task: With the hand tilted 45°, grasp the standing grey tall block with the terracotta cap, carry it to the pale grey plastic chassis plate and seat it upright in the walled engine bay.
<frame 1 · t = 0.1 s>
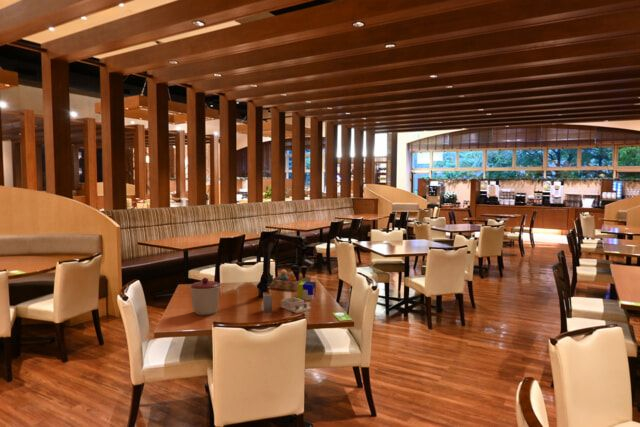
hand: (300, 279, 289), 15 cm above the table, tool pointing down, fingers open, 9 cm apart
puzzle toy: (306, 298, 299), on the table
toy bolts: (290, 286, 333), resting in bolt corral
canister: (205, 313, 262), on the table
bolt corral: (290, 285, 333), on the table
grey tall block: (267, 310, 267), on the table
chassis: (292, 307, 275), on the table
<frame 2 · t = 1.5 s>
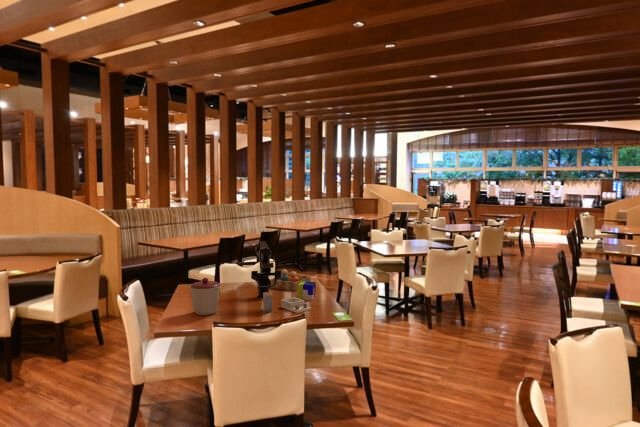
hand: (267, 286, 274), 13 cm above the table, tool tilted 45°, fingers open, 9 cm apart
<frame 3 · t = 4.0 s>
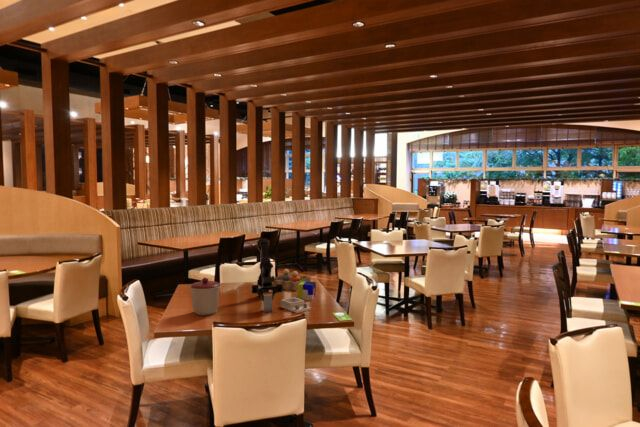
hand: (267, 300, 265), 7 cm above the table, tool tilted 45°, fingers closed on grey tall block, 5 cm apart
toy bolts: (293, 285, 335), resting in bolt corral
grey tall block: (267, 310, 267), on the table, touching gripper
everything else where it was.
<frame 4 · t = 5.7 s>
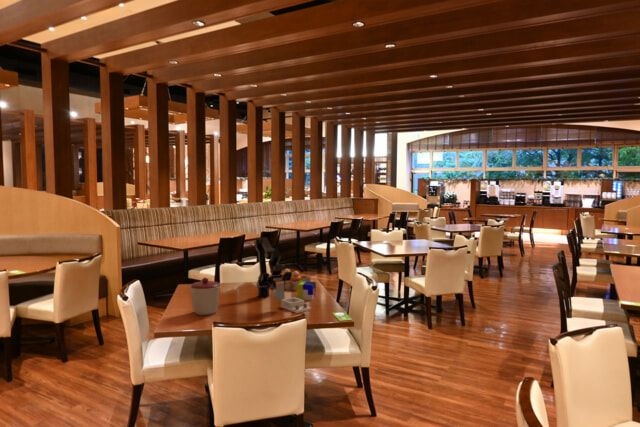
hand: (279, 288, 267), 13 cm above the table, tool tilted 45°, fingers closed on grey tall block, 5 cm apart
toy bolts: (294, 285, 335), resting in bolt corral
grey tall block: (278, 298, 269), point 7 cm above the table, touching gripper
everything else where it was.
when the fingers open (9 cm above the table, at t = 7.5 s): grey tall block drops 1 cm, resting on chassis.
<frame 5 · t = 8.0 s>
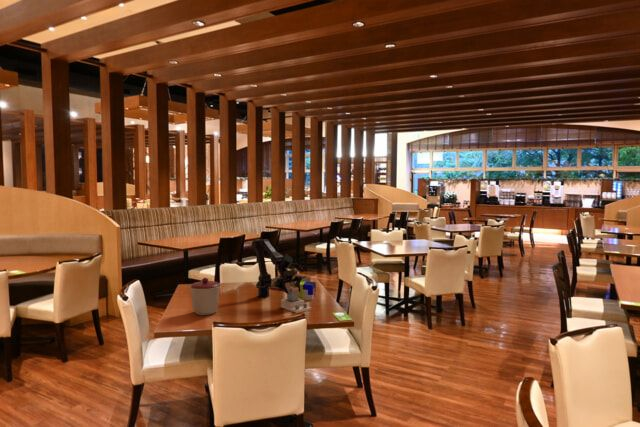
hand: (294, 292, 274), 10 cm above the table, tool tilted 45°, fingers open, 9 cm apart
grey tall block: (292, 304, 275), point 1 cm above the table, touching chassis
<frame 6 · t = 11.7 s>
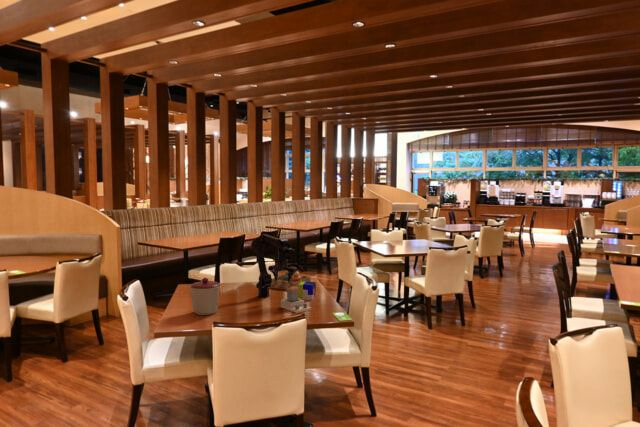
hand: (282, 281, 287), 13 cm above the table, tool pointing down, fingers open, 9 cm apart
nothing on the table moved.
at the end: grey tall block 0.0 cm off-centre on the chassis, point 1.5 cm above the chassis's base; grey tall block tilted 0°; the gripper is holding nothing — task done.
